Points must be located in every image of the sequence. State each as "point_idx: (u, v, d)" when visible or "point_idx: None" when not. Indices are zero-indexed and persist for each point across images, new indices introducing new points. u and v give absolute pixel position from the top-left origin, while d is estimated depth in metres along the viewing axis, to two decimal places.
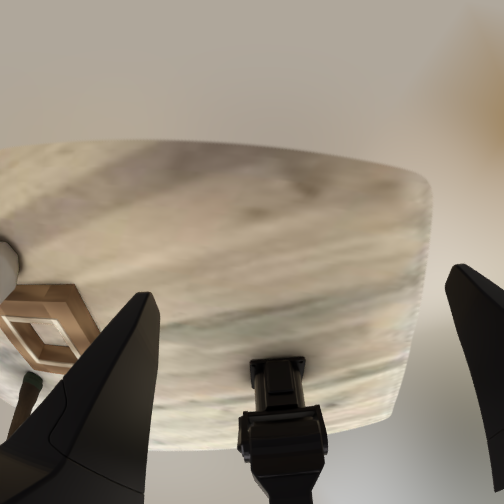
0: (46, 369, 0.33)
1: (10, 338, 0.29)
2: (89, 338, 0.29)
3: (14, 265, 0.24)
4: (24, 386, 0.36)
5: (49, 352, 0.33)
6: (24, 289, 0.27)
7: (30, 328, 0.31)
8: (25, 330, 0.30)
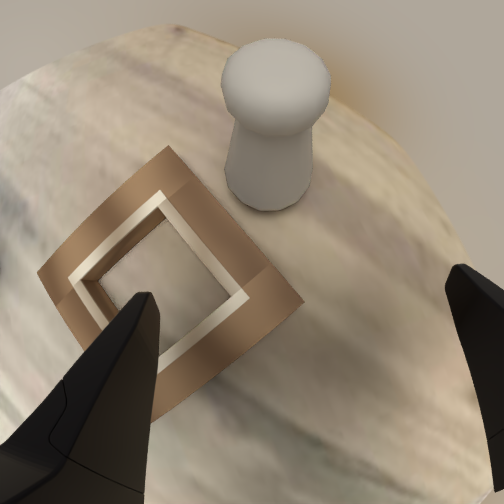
0: (59, 298, 0.19)
1: (98, 216, 0.20)
2: (234, 360, 0.19)
3: None
4: None
5: (100, 296, 0.21)
6: None
7: (128, 248, 0.22)
8: (130, 241, 0.21)
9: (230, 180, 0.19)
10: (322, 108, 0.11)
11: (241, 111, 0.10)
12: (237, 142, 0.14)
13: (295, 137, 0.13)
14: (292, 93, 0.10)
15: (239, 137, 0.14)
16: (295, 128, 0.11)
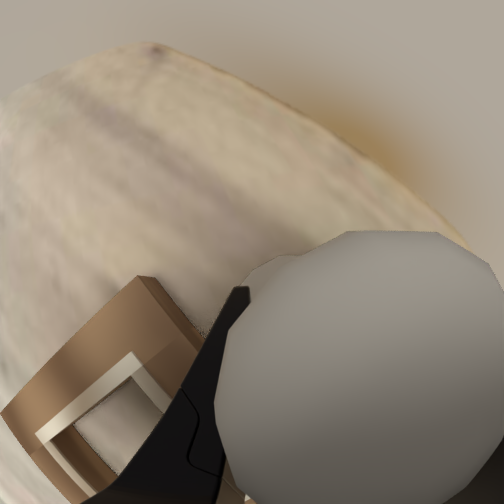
0: (31, 450, 0.12)
1: (55, 369, 0.13)
2: None
3: None
4: None
5: (78, 451, 0.13)
6: None
7: (102, 400, 0.14)
8: (102, 400, 0.14)
9: None
10: None
11: None
12: None
13: None
14: None
15: None
16: None
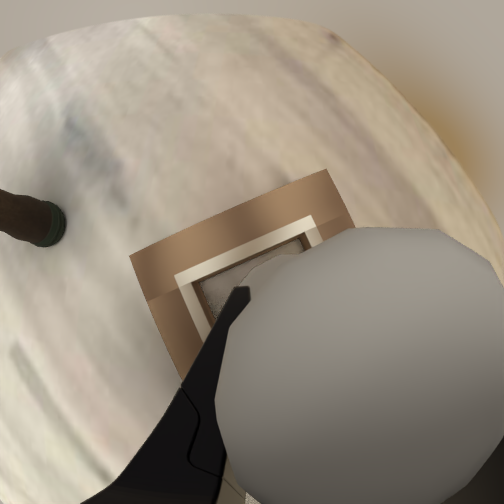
0: (155, 295, 0.19)
1: (231, 218, 0.19)
2: None
3: None
4: (44, 210, 0.19)
5: (204, 303, 0.20)
6: None
7: (247, 260, 0.21)
8: (256, 255, 0.20)
9: None
10: None
11: None
12: None
13: None
14: (430, 502, 0.02)
15: None
16: None
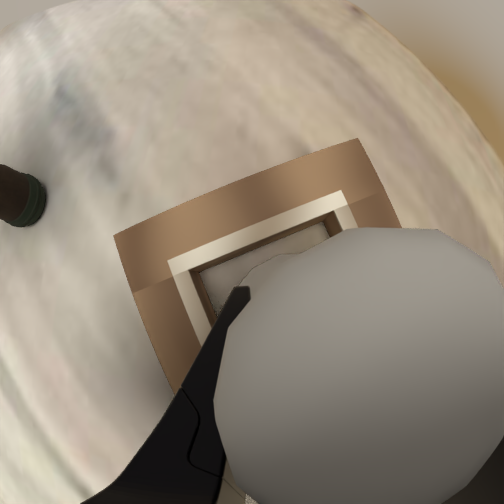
0: (142, 285, 0.15)
1: (242, 190, 0.15)
2: None
3: None
4: (20, 181, 0.15)
5: (204, 297, 0.16)
6: None
7: (260, 246, 0.17)
8: (272, 239, 0.16)
9: None
10: None
11: None
12: None
13: None
14: (430, 503, 0.02)
15: None
16: None
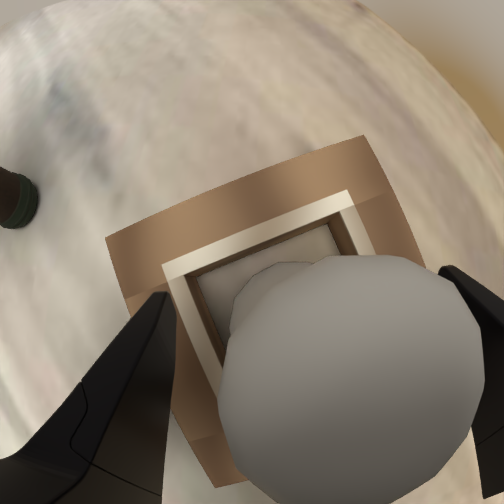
0: (135, 290, 0.14)
1: (241, 190, 0.14)
2: None
3: None
4: (11, 181, 0.14)
5: (201, 304, 0.15)
6: None
7: (261, 249, 0.16)
8: (273, 241, 0.15)
9: None
10: None
11: None
12: None
13: None
14: (400, 489, 0.03)
15: None
16: None
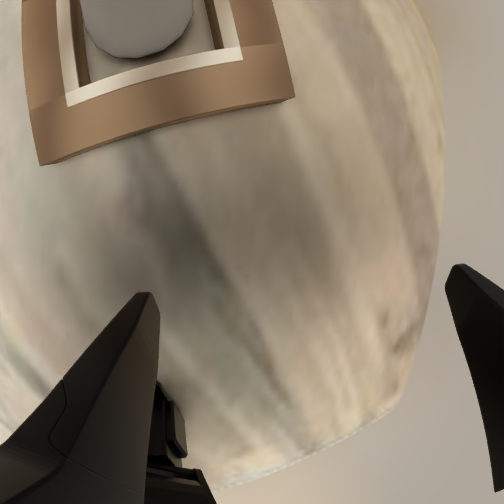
0: None
1: None
2: (185, 117, 0.14)
3: (161, 49, 0.13)
4: None
5: (76, 6, 0.11)
6: None
7: None
8: None
9: (85, 22, 0.10)
10: None
11: None
12: None
13: None
14: None
15: None
16: None
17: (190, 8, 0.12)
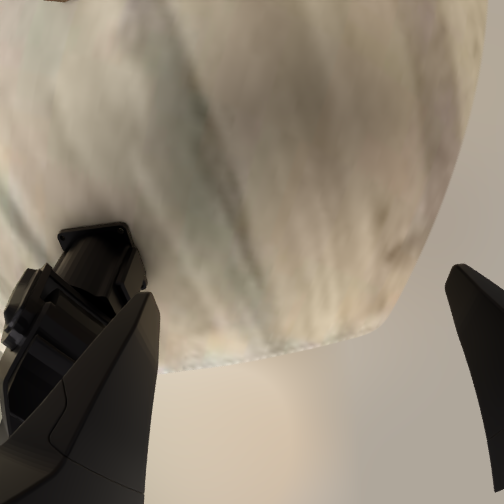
0: None
1: None
2: None
3: None
4: None
5: None
6: None
7: None
8: None
9: None
10: None
11: None
12: None
13: None
14: None
15: None
16: None
17: None
